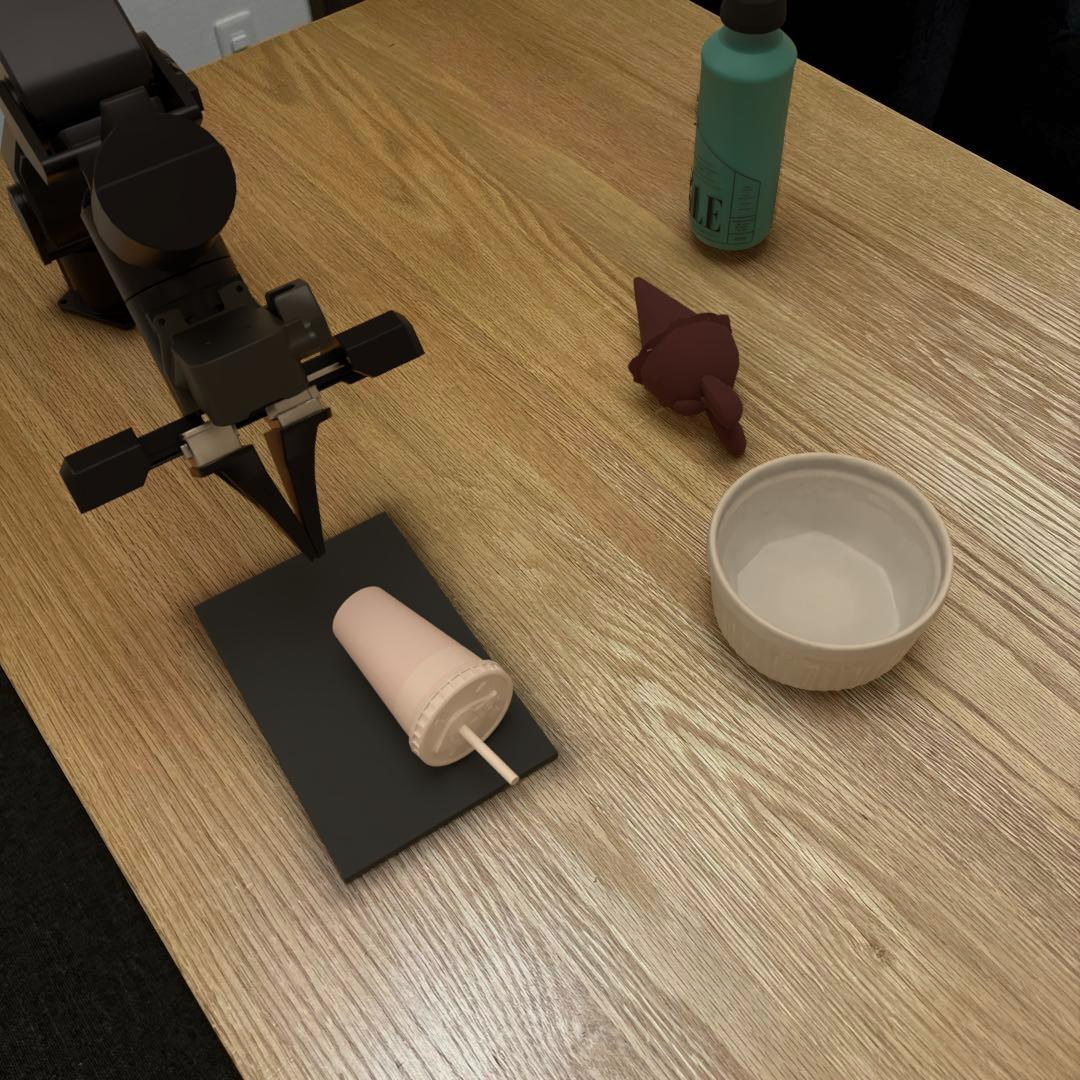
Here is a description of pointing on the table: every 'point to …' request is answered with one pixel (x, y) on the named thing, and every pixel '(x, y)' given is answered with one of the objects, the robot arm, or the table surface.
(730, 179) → the beverage bottle
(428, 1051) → the table surface
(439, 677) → the smoothie
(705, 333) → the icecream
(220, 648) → the mat
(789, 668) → the ramekin
